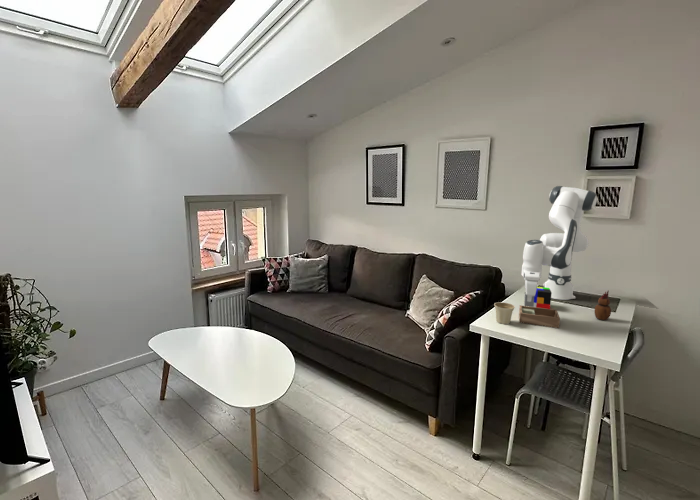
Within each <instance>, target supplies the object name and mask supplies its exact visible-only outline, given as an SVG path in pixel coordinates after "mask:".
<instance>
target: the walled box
mask: <svg viewBox="0 0 700 500" xmlns="http://www.w3.org/2000/svg"><path fill="white" fill-rule="evenodd" d="M518 321H519V324H525V325H532V326H539V327H546V328H553V329H560V322H561V316H560V314H559V312H558V309H553V308H550V309H546V308H537V307H529V306H525V305H522V304H521V305H519V310H518Z"/></svg>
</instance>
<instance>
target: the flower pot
mask: <svg viewBox="0 0 700 500" xmlns="http://www.w3.org/2000/svg"><path fill="white" fill-rule="evenodd" d="M493 305H494V309H495V318H496V323H499V324H502V325H509V324H510V323H511V320H512V315H513V311H514V309H515V308H516V306H515V305H514V304H511V303H507V302H501V301H500V302H499V301H498V302H494V304H493Z"/></svg>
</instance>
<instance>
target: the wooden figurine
mask: <svg viewBox="0 0 700 500" xmlns="http://www.w3.org/2000/svg"><path fill="white" fill-rule="evenodd" d="M597 302H598V304H596V305H595V307H594V309H593V310H594V311H593V312H594V316H595V318H596V319H597V320H601V321H607V320H608V319H610V317H611V314H612V308H611V306H610V304H611V301H610V299H609V290H607V291H605V292H604V293H603V294H602V295H601V297H599V298H598V300H597Z"/></svg>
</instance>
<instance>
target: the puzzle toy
mask: <svg viewBox="0 0 700 500" xmlns="http://www.w3.org/2000/svg"><path fill="white" fill-rule="evenodd" d="M551 294H552V292H551V290H550V288H545V287H544V286H543V287H542V286H537V289H536V294H535V296H534V307H537V308H546V309H551V304H552V303H551V302H552V298H551ZM529 307H531V306H529Z"/></svg>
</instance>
